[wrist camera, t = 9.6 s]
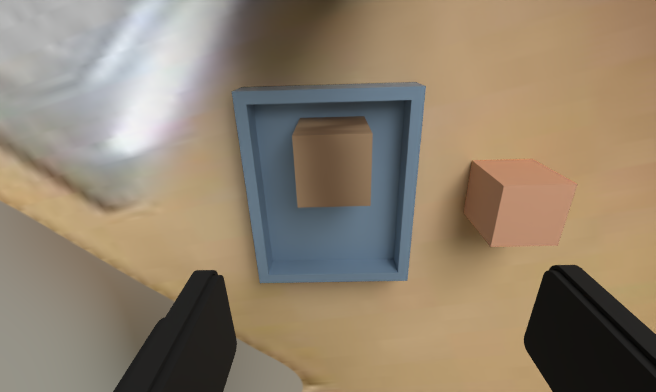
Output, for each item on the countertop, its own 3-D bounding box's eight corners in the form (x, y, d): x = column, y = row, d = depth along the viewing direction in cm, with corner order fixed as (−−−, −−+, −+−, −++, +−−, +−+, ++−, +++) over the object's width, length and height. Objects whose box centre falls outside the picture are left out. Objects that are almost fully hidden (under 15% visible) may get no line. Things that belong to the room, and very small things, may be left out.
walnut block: (364, 116, 22) (372, 133, 18) (363, 176, 24) (370, 205, 20) (299, 117, 23) (292, 135, 18) (303, 177, 24) (297, 207, 20)
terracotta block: (531, 158, 24) (577, 184, 20) (518, 211, 26) (557, 245, 22) (471, 160, 24) (503, 185, 20) (463, 212, 26) (490, 247, 22)
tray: (416, 82, 22) (425, 86, 20) (401, 261, 28) (407, 280, 26) (241, 87, 22) (231, 91, 20) (265, 264, 29) (259, 283, 26)
